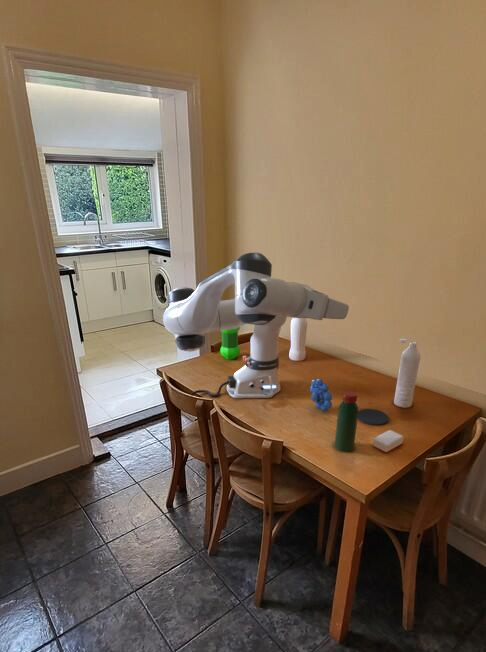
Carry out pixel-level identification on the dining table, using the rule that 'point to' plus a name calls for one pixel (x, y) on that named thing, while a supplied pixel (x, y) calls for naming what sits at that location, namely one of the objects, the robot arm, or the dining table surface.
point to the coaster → (372, 417)
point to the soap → (387, 440)
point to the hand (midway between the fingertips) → (332, 306)
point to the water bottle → (407, 375)
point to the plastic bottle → (230, 344)
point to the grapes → (321, 395)
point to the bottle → (298, 339)
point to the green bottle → (346, 426)
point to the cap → (349, 397)
